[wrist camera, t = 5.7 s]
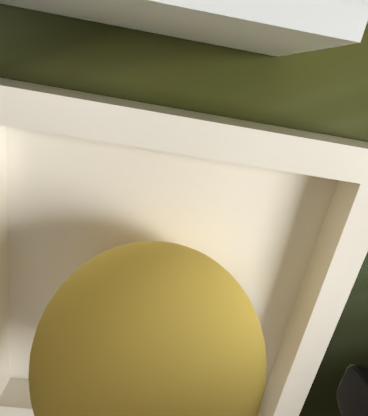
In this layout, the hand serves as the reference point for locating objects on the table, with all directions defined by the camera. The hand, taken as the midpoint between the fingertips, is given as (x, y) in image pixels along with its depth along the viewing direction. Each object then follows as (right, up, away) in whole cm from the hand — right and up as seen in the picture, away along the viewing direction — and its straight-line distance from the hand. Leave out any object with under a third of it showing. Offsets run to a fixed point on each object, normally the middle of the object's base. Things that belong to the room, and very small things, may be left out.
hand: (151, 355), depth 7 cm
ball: (0, +1, +2) cm, 3 cm away
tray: (0, +1, +3) cm, 3 cm away
